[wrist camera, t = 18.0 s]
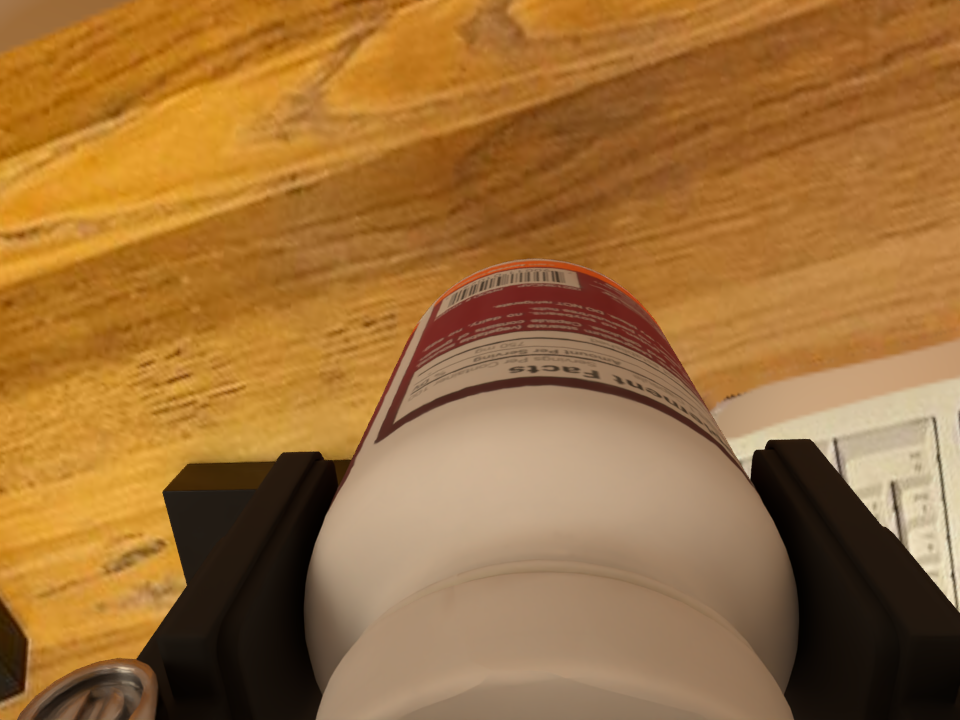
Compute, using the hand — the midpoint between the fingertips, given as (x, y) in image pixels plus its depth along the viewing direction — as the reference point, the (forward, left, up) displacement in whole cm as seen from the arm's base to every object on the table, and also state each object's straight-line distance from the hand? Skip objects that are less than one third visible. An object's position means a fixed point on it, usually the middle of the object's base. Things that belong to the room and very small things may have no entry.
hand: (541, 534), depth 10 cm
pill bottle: (0, 0, -6) cm, 6 cm away
